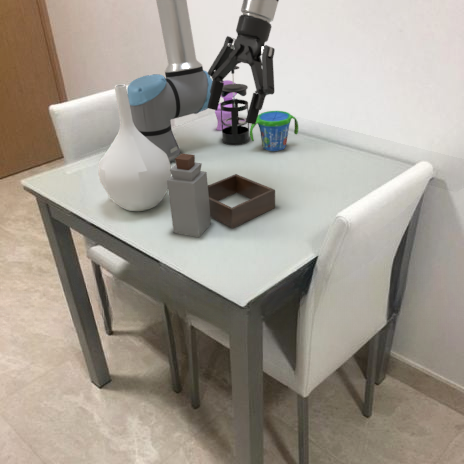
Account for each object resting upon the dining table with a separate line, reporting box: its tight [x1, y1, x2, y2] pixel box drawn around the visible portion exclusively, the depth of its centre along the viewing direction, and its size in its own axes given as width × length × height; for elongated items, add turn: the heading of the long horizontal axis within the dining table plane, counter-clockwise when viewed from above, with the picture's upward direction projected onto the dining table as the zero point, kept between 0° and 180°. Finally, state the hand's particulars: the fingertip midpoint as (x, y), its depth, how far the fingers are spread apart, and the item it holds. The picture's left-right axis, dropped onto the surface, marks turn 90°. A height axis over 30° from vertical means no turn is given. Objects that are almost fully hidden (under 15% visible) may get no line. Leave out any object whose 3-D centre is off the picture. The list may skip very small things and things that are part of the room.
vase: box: [98, 83, 172, 212], centre depth 125 cm, size 18×18×30 cm
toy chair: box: [214, 79, 238, 131], centre depth 176 cm, size 8×9×15 cm
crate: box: [208, 173, 276, 229], centre depth 128 cm, size 15×15×5 cm
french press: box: [219, 65, 251, 146], centre depth 162 cm, size 12×9×23 cm
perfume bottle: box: [167, 152, 212, 238], centre depth 117 cm, size 7×7×18 cm
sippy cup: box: [249, 110, 299, 152], centre depth 159 cm, size 16×10×10 cm
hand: (230, 116), depth 120 cm, fingers open, 13 cm apart
